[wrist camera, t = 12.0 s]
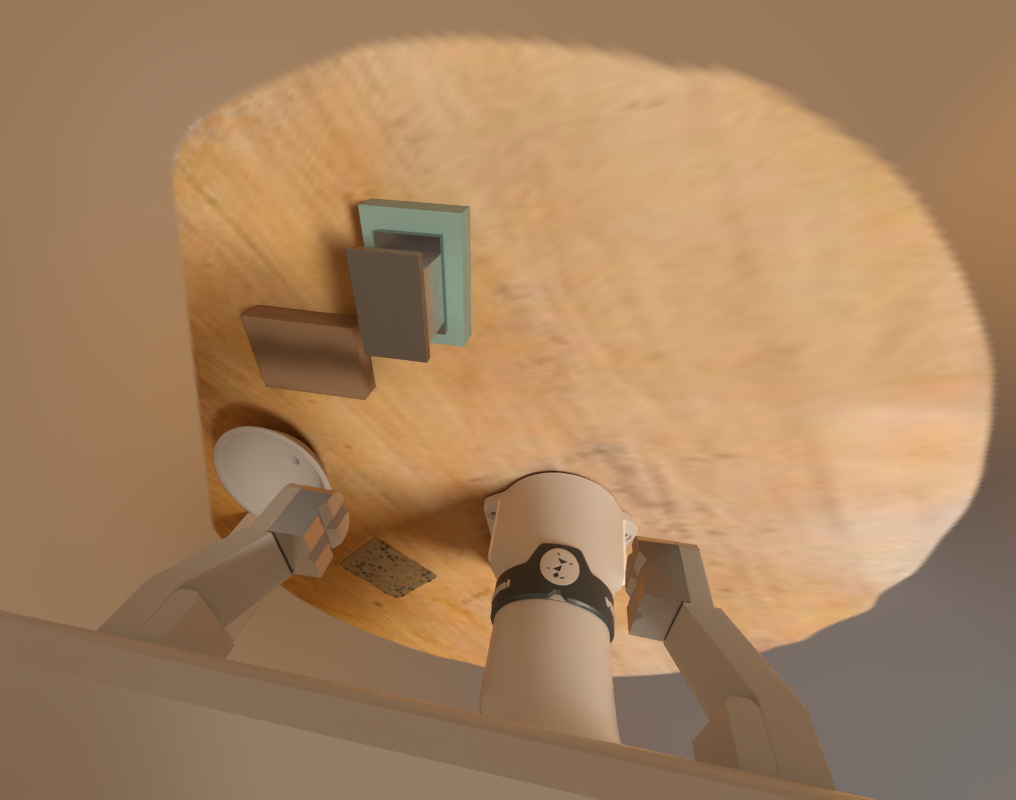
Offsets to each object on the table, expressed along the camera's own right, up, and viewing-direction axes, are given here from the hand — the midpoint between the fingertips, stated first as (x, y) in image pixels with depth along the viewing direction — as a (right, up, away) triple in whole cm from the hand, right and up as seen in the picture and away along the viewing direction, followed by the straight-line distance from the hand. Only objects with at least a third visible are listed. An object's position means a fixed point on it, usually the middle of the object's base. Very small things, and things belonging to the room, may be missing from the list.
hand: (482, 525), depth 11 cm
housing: (-7, +13, +22) cm, 27 cm away
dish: (-26, -4, +41) cm, 49 cm away
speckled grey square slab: (-18, -23, +54) cm, 62 cm away
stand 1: (-19, +9, +31) cm, 37 cm away
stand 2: (-6, +15, +24) cm, 29 cm away
